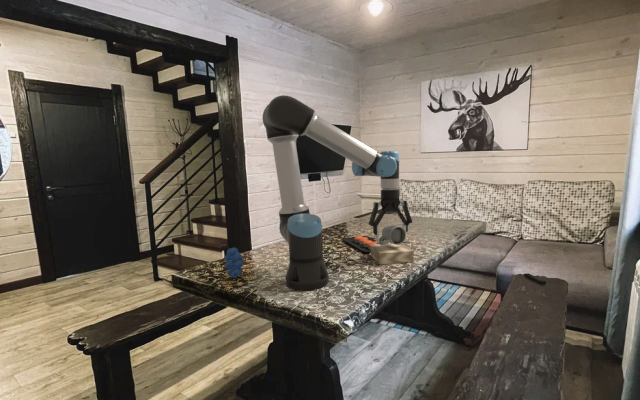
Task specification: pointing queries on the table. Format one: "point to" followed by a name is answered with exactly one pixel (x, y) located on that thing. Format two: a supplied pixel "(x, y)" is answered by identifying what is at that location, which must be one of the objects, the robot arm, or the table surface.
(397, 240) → the ceramic mug
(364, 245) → the sushi plate
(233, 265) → the grapes
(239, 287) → the table surface
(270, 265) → the table surface
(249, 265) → the table surface
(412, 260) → the birch block
